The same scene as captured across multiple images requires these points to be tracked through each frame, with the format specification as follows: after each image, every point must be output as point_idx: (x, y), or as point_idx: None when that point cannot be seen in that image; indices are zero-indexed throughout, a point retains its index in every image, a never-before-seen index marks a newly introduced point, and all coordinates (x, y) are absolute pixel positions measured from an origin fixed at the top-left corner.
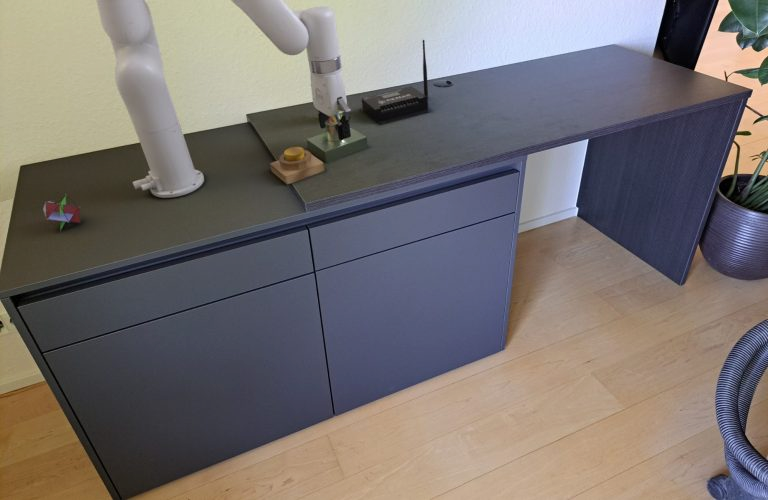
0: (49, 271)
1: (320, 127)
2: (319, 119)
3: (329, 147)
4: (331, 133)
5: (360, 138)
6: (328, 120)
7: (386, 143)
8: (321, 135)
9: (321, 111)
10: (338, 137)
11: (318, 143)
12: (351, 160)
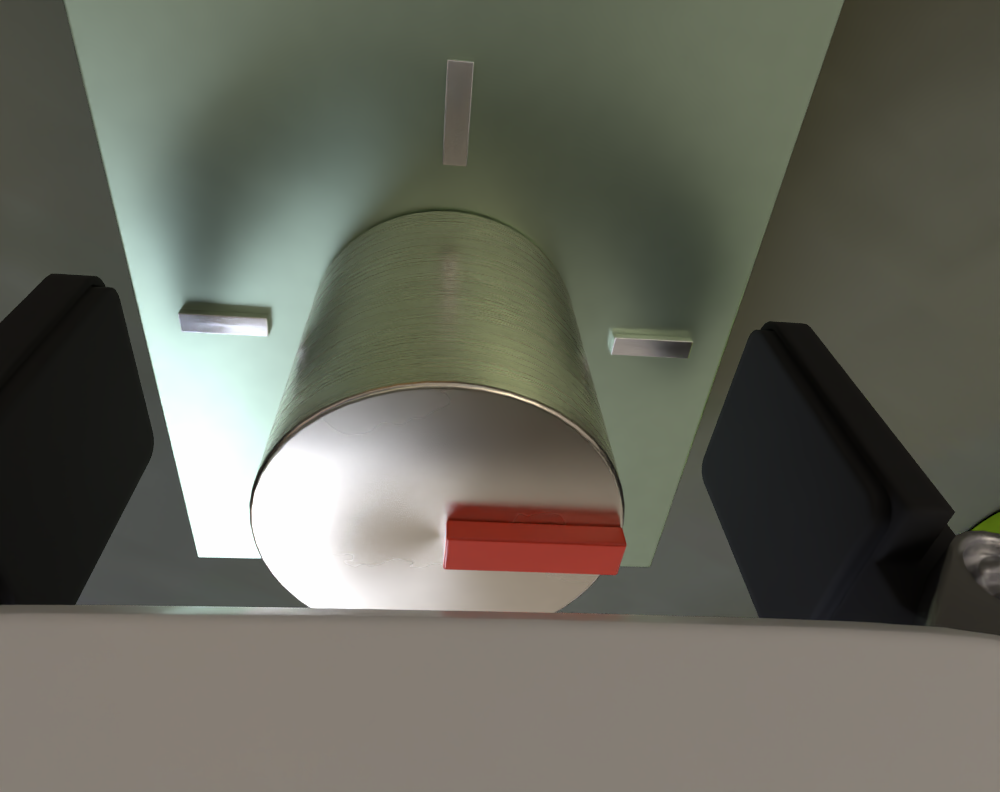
0: None
1: (802, 324)
2: (858, 420)
3: (169, 50)
4: (347, 299)
5: (194, 503)
6: (560, 490)
7: (210, 587)
8: (712, 235)
9: (478, 636)
10: (75, 290)
11: (487, 1)
12: (7, 185)
